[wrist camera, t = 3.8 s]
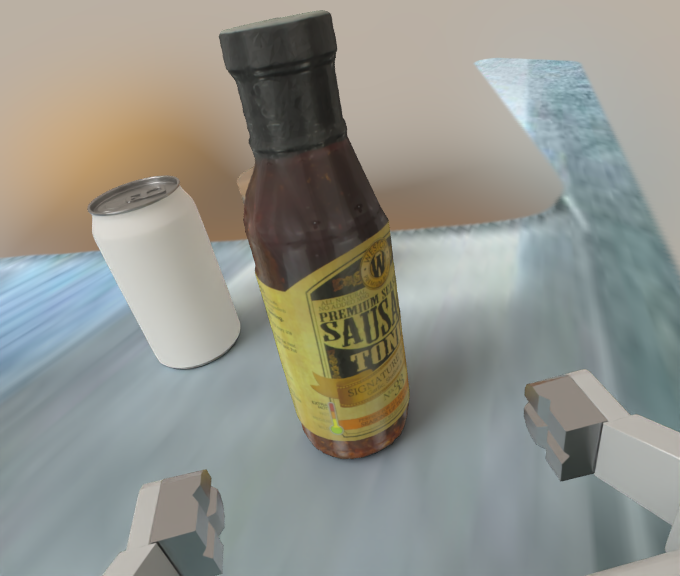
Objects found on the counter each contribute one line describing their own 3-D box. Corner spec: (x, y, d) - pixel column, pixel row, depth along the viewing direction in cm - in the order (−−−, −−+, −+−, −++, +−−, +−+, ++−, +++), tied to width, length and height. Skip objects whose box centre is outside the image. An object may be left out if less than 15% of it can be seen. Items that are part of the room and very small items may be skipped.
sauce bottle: (368, 487, 23) (253, 31, 13) (280, 433, 27) (134, 49, 16) (437, 398, 27) (393, -8, 16) (351, 363, 31) (270, 14, 20)
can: (153, 336, 38) (81, 195, 31) (232, 305, 39) (178, 165, 33) (162, 386, 32) (77, 228, 26) (252, 348, 34) (193, 190, 28)
